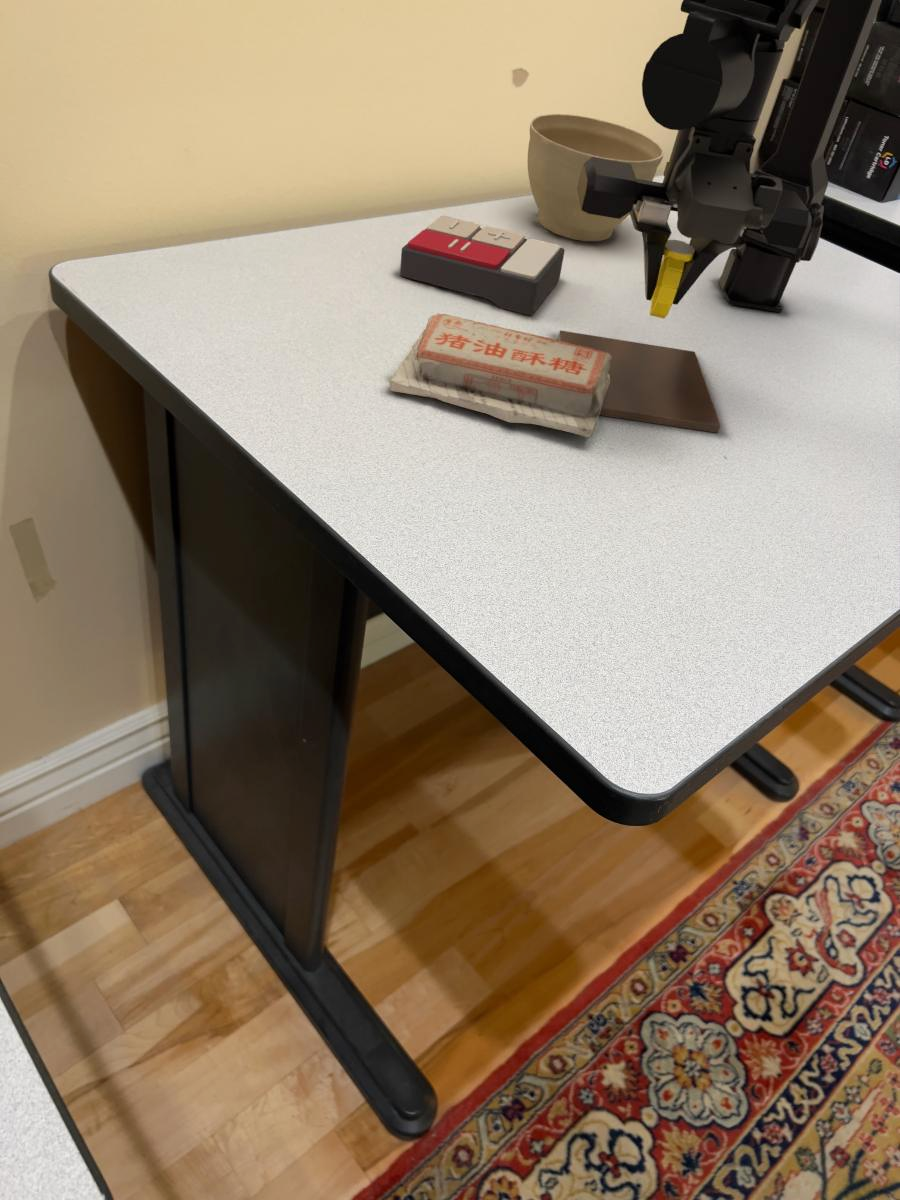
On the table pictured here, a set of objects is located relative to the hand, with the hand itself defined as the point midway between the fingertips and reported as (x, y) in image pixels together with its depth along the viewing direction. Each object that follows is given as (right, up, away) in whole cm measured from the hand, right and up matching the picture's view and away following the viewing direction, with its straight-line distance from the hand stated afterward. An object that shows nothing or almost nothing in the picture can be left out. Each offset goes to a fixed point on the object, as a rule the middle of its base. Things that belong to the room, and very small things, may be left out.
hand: (660, 300), depth 79 cm
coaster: (-1, -6, +5) cm, 8 cm away
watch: (0, -1, +1) cm, 1 cm away
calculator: (-16, +8, +18) cm, 25 cm away
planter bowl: (-3, +20, +33) cm, 39 cm away
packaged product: (-14, -8, 0) cm, 17 cm away
